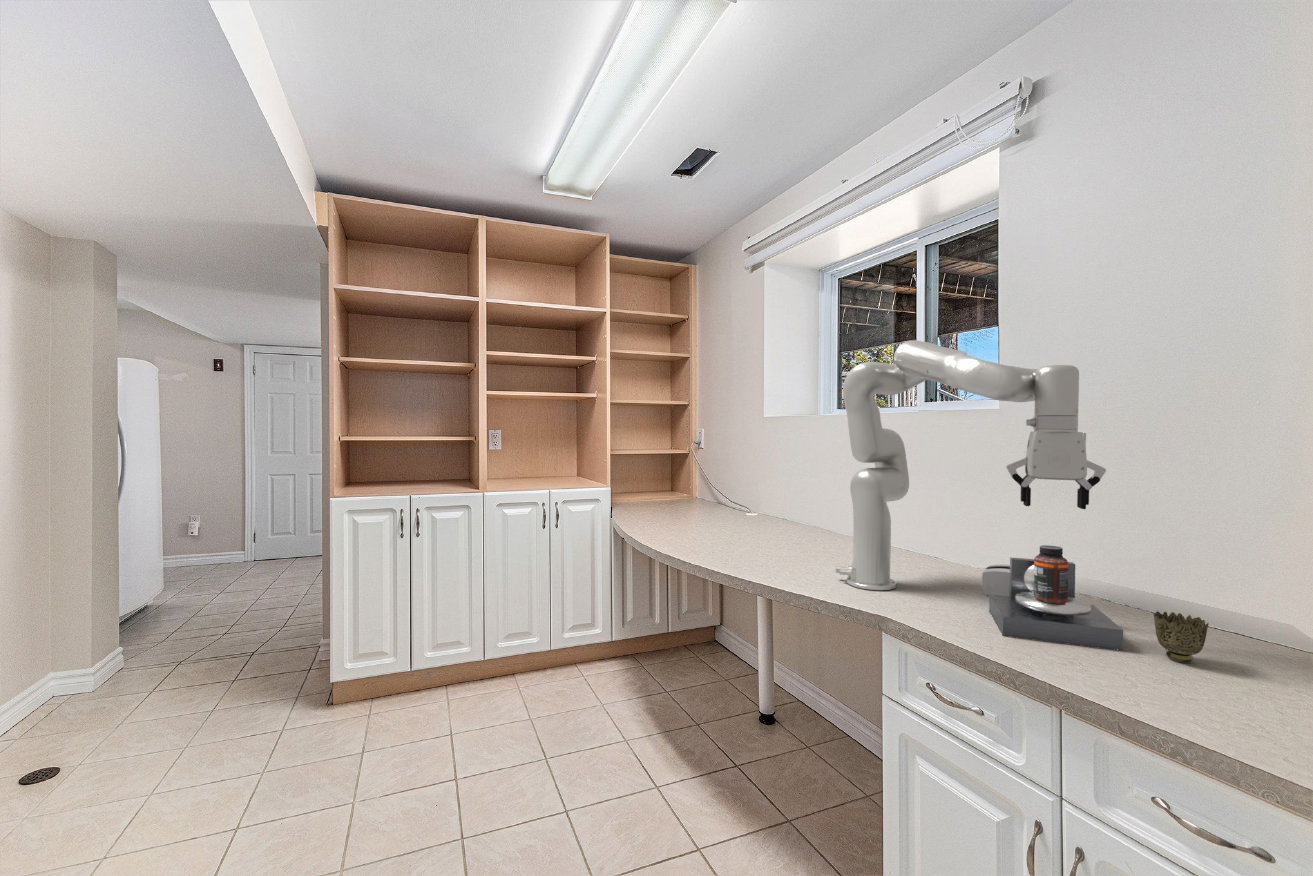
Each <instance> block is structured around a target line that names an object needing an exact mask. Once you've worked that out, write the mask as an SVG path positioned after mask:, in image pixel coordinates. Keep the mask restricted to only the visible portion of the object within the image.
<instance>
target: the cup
mask: <svg viewBox="0 0 1313 876" xmlns="http://www.w3.org/2000/svg"><path fill="white" fill-rule="evenodd" d="M1153 619H1154V628H1155V635H1156V638H1157V642H1158V643H1159V645H1160V646H1161V647H1162V648H1163V649H1165V650H1166V652H1165V655H1166V658H1168V659H1170V661H1173V662H1177V663H1182V664H1190V663H1192V662H1193V660H1194V657H1193V656H1194V655H1198V654H1199V653H1201V652H1202V650H1203V649H1204V646H1205V642H1206V638H1207V634H1208V633H1207V632H1208V628H1209V622H1207V623H1206V620H1204V619H1202V618H1201V617H1199V616H1196V617H1193V618H1192V616H1191V614H1188V615H1187V616H1186V618H1185V616H1183V614H1182V613H1180V612H1179V613H1177V614H1176V613H1175V612H1174V611H1172V612H1171V613H1169V614H1168V611H1164V612H1163V614H1162V612H1160V611H1158V610H1157V611H1155V612H1153Z"/></svg>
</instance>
